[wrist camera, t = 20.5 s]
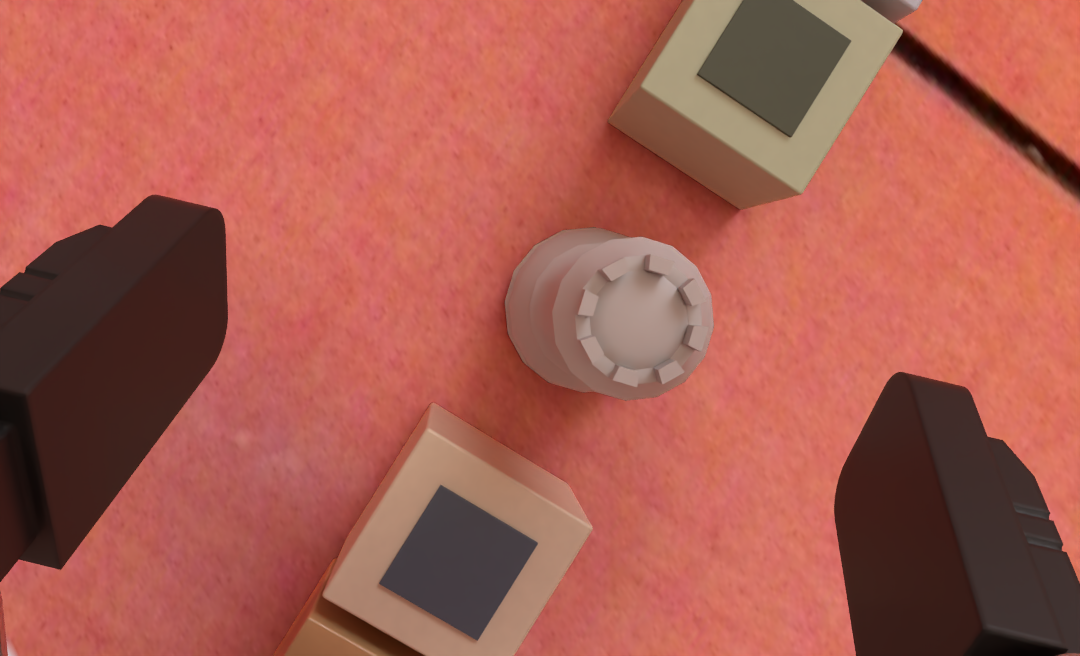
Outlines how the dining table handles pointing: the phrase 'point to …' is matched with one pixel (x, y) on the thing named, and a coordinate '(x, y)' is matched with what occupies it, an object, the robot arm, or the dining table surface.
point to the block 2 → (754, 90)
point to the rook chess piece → (609, 313)
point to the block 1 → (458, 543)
